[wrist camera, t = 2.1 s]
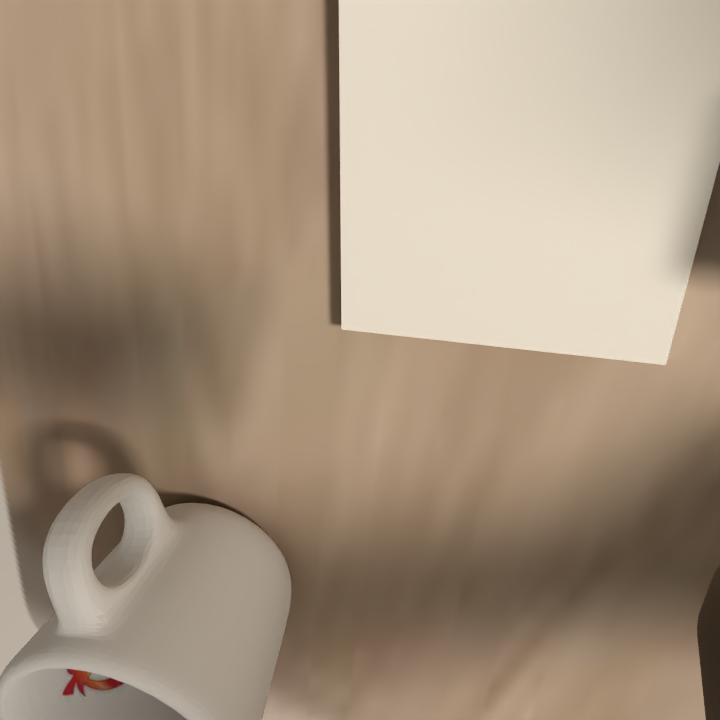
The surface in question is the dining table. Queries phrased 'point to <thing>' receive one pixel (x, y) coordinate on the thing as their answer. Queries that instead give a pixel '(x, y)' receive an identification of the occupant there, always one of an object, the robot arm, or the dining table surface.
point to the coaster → (526, 169)
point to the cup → (152, 614)
